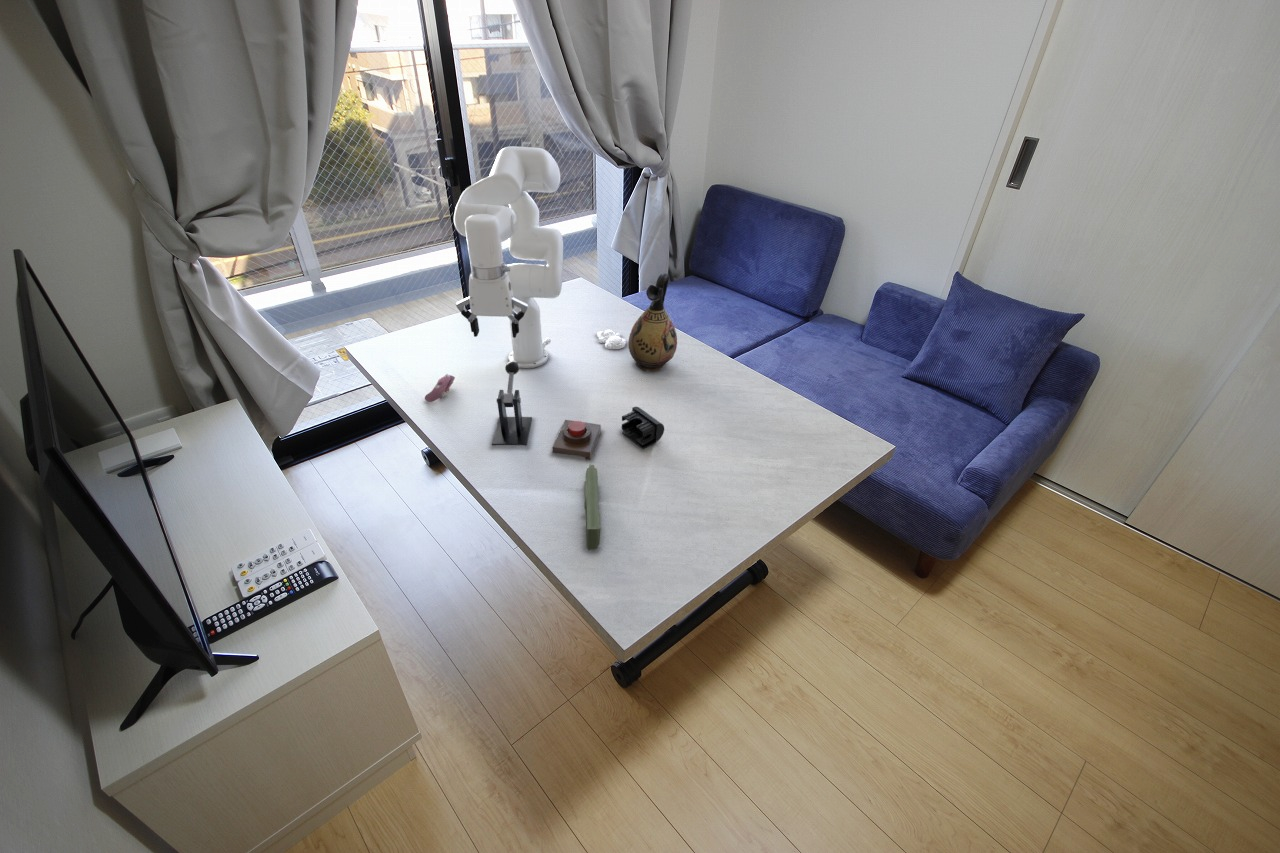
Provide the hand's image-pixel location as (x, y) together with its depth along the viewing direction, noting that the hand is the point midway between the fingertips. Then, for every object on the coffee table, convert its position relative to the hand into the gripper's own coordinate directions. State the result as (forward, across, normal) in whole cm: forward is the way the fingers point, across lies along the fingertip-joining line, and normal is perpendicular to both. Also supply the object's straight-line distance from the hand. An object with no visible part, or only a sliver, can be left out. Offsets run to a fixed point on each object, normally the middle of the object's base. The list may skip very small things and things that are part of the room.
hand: (495, 334), depth 144 cm
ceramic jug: (+26, -42, -30) cm, 58 cm away
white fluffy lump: (+26, -29, -44) cm, 59 cm away
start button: (+22, -21, +12) cm, 32 cm away
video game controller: (+26, +20, -10) cm, 34 cm away
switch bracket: (+26, -3, +8) cm, 27 cm away
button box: (+26, -21, +12) cm, 35 cm away
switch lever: (+14, -3, +3) cm, 15 cm away
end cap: (+26, -38, +8) cm, 47 cm away
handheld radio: (+26, -26, +35) cm, 51 cm away
